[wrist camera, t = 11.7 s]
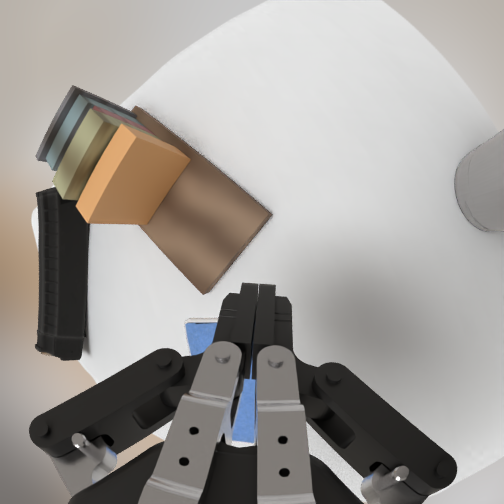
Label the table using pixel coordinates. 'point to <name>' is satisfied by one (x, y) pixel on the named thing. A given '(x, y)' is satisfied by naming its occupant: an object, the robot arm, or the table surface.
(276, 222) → the table surface
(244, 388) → the blue flat slab
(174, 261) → the book row
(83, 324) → the magazine
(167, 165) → the loose bookend
